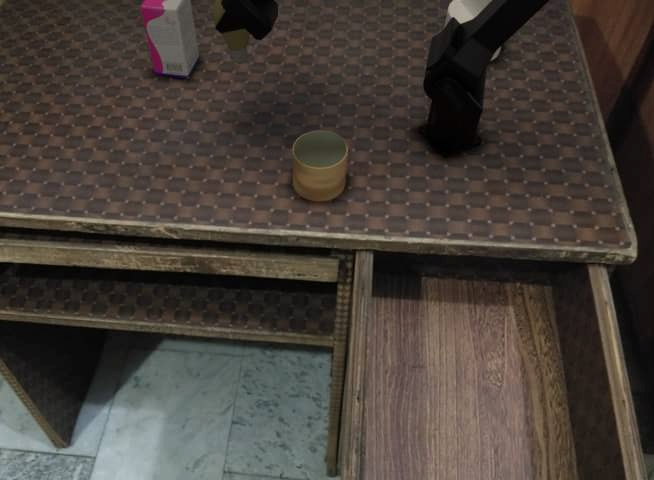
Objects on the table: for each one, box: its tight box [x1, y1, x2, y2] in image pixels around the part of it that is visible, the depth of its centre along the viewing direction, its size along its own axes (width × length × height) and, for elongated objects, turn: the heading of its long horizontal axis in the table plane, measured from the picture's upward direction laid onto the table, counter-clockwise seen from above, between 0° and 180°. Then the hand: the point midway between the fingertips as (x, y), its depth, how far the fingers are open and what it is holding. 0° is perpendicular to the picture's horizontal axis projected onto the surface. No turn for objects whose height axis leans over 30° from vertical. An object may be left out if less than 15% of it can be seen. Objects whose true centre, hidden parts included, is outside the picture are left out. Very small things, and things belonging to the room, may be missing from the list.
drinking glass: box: [443, 0, 502, 61], centre depth 94 cm, size 9×9×12 cm
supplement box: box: [140, 0, 200, 80], centre depth 96 cm, size 6×6×12 cm
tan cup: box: [291, 129, 349, 202], centre depth 82 cm, size 7×7×6 cm
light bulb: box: [212, 0, 251, 65], centre depth 83 cm, size 6×6×10 cm
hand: (224, 16), depth 82 cm, fingers closed on light bulb, 5 cm apart
